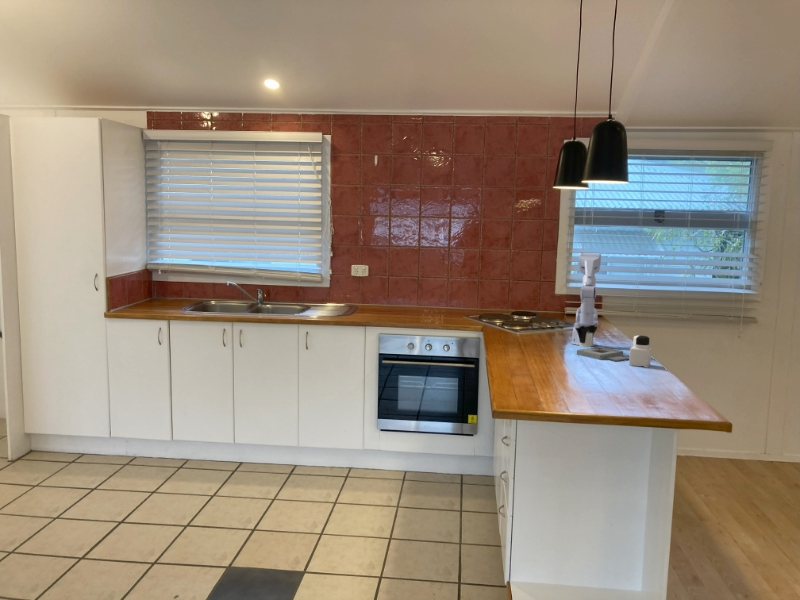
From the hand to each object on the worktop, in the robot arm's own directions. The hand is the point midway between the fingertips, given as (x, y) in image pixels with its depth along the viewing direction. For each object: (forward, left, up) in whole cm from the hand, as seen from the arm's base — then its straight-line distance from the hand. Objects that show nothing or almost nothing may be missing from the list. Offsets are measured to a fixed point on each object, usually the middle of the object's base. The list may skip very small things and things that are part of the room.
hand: (585, 342), depth 273 cm
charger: (0, 0, -2) cm, 2 cm away
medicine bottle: (+31, -4, -4) cm, 31 cm away
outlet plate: (+10, -2, -4) cm, 11 cm away
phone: (+20, -3, -5) cm, 20 cm away
